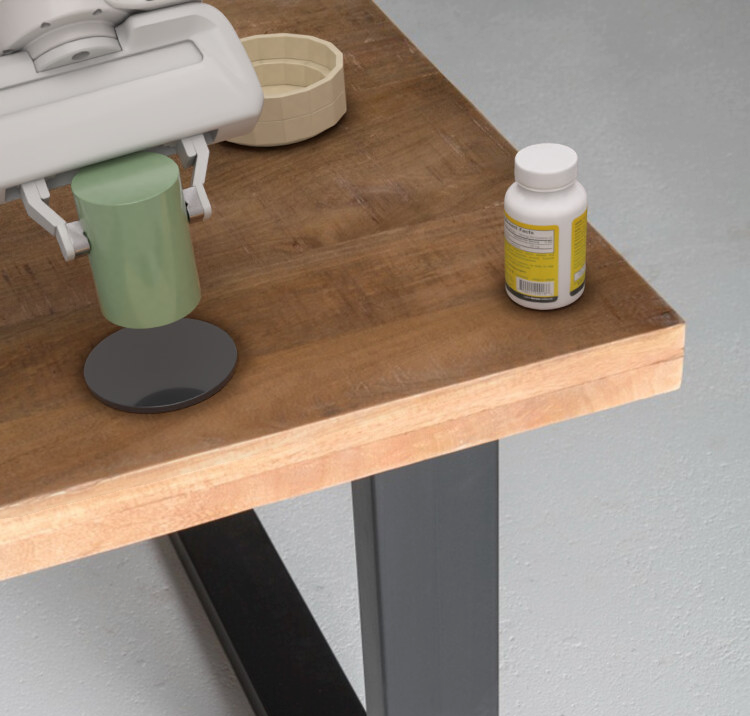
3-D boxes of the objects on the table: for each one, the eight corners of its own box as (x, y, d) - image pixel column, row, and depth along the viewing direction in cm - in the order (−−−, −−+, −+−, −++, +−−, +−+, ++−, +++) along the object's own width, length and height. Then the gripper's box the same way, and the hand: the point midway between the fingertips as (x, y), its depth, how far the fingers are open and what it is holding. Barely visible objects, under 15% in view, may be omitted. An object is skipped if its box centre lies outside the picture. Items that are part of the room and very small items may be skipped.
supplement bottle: (562, 261, 98) (567, 130, 92) (598, 300, 95) (605, 166, 88) (491, 280, 97) (490, 148, 90) (524, 320, 93) (526, 185, 87)
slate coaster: (108, 430, 87) (106, 424, 87) (68, 349, 94) (66, 342, 94) (259, 385, 90) (258, 379, 90) (210, 308, 97) (208, 302, 96)
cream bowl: (228, 165, 112) (220, 111, 109) (182, 105, 120) (173, 53, 117) (370, 129, 115) (366, 75, 112) (315, 73, 123) (310, 21, 120)
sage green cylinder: (115, 340, 86) (86, 215, 80) (88, 289, 90) (59, 167, 84) (215, 311, 87) (193, 186, 81) (184, 262, 92) (161, 141, 86)
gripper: (-118, 40, 79) (-29, 272, 79) (221, -43, 85) (303, 173, 85) (-110, 87, 85) (-27, 302, 85) (206, 6, 91) (283, 208, 91)
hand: (140, 237), depth 85 cm, fingers closed on sage green cylinder, 6 cm apart
